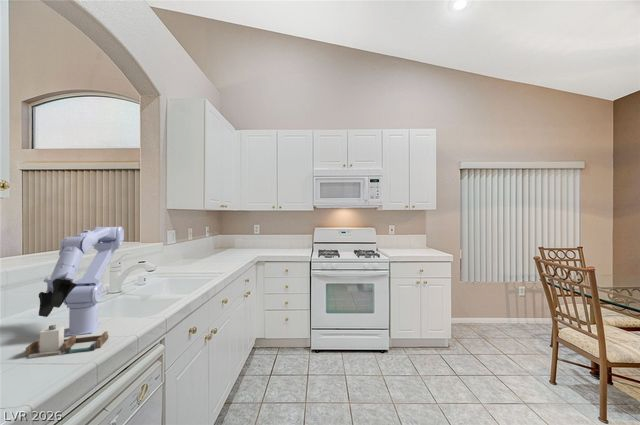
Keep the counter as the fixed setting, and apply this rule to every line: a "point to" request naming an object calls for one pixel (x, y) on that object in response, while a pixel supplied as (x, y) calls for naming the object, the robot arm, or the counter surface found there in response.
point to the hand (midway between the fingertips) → (49, 311)
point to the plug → (51, 339)
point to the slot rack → (68, 345)
